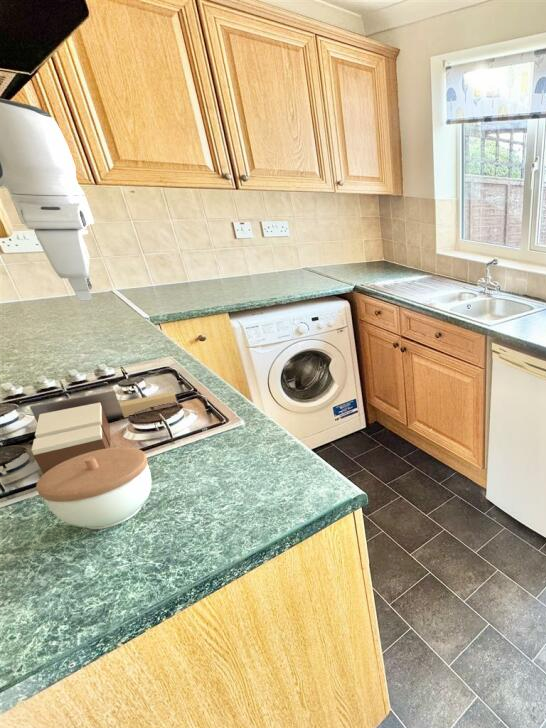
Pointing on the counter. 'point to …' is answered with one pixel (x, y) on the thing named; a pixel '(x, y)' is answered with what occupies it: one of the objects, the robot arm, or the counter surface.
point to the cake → (72, 420)
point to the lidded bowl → (97, 487)
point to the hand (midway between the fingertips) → (86, 294)
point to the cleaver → (105, 404)
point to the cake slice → (67, 446)
